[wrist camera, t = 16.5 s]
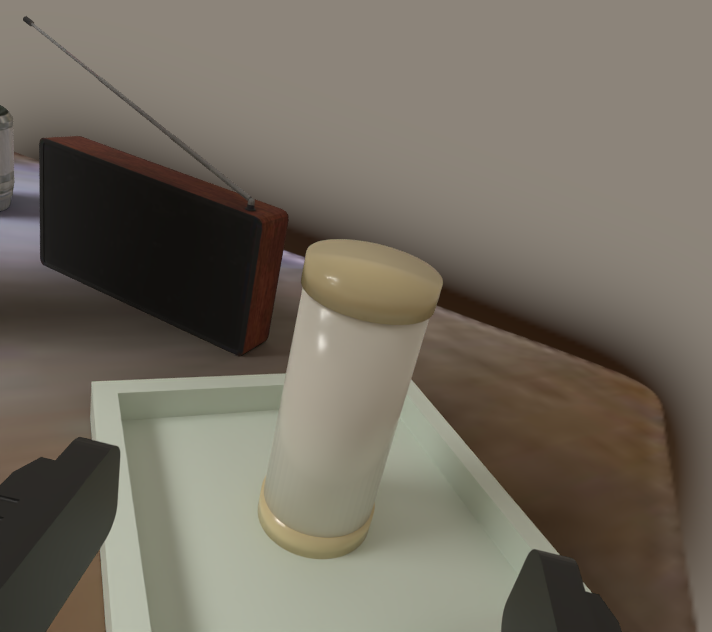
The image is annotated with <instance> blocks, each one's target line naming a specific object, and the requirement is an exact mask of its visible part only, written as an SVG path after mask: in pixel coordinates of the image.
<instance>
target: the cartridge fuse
mask: <svg viewBox="0 0 712 632" xmlns="http://www.w3.org/2000/svg"><path fill="white" fill-rule="evenodd" d="M301 284H302V287H303V288H302V294H301V299H300V304H299V309H298V314H297V319H296V325H295V330H294V335H293V340H292V345H291V350H290V356H289V361H288V366H287V371H286V376H285V381H284V386H283V392H282V397H281V402H280V407H279V412H278V417H277V423H276V428H275V433H274V438H273V443H272V448H271V454H270V459H269V464H268V469H267V474H266V476H265V478H264V480H263V483H262V487H261V492H260V497H259V502H258V518H259V522H260V524H261V526H262V528H263V530H264V531H265V533H266V534H267V535H268V537H269V538H270V539H271V540H272V541H274V542H275V543H276V544H277V545H279V546H280V547H281V548H283V549H285V550H287V551H289V552H291V553H293V554H296V555H299V556H302V557H306V558H312V559H332V558H337V557H341V556H344V555H346V554H349V553H351V552H352V551H354V550H355V549H357V548H358V547H359V546H360V545H361V544H362V543H363V541H364V540H365V538H366V536H367V534H368V531H369V527H370V524H371V521H372V517H373V514H374V509H375V499H376V495H377V492H378V488H379V485H380V482H381V478H382V475H383V472H384V468H385V465H386V462H387V458H388V455H389V452H390V448H391V445H392V442H393V438H394V435H395V431H396V428H397V425H398V421H399V418H400V415H401V411H402V408H403V405H404V401H405V398H406V395H407V391H408V388H409V385H410V381H411V378H412V374H413V371H414V368H415V364H416V361H417V358H418V354H419V351H420V348H421V344H422V341H423V338H424V334H425V331H426V328H427V324H428V321H429V318H430V317H431V316H432V315H433V314H434V311H435V308H436V305H437V301H438V298H439V294H440V291H441V288H442V285H443V280H442V277H441V276H440V274H439V273H438V272H437V271H436V270H435V269H434V268H433V267H432V266H430V265H429V264H427V263H426V262H424V261H422V260H421V259H419V258H417V257H415V256H412V255H410V254H408V253H405V252H403V251H400V250H397V249H394V248H391V247H387V246H384V245H380V244H375V243H371V242H365V241H358V240H348V239H347V240H346V239H332V240H325V241H319V242H316V243H314V244H312V245H311V246H309V248H308V249H307V252H306V257H305V262H304V267H303V272H302V278H301Z"/></svg>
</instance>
